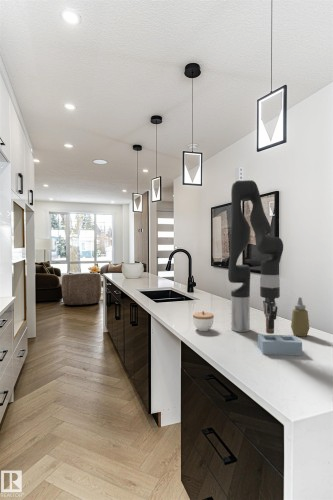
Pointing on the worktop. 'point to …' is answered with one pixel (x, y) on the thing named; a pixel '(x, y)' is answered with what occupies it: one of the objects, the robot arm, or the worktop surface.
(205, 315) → the lidded jar
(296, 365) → the worktop surface
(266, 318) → the dowel
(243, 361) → the worktop surface
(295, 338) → the socket block
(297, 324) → the squeeze bottle
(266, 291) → the robot arm
